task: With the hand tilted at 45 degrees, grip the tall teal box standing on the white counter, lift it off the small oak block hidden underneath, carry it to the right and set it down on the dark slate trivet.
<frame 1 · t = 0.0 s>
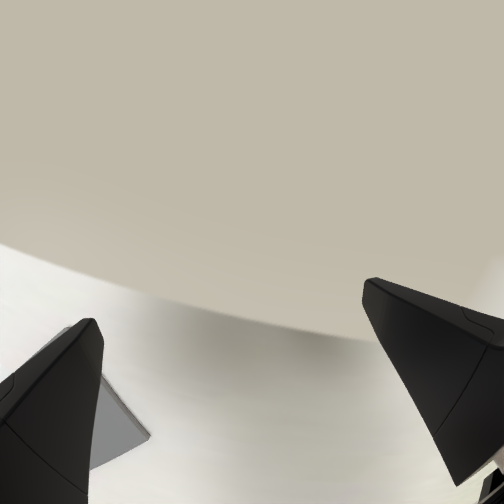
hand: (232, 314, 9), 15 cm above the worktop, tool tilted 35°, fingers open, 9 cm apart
trivet: (68, 410, 20), on the worktop
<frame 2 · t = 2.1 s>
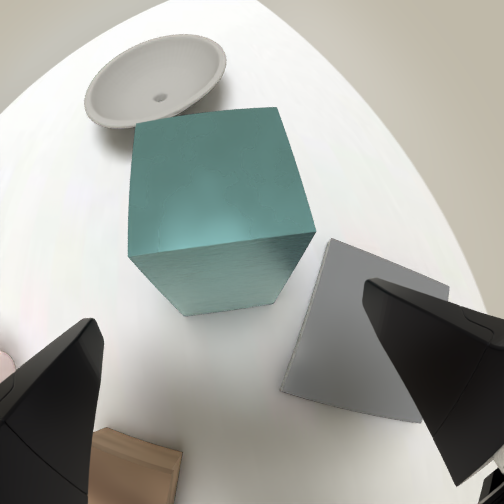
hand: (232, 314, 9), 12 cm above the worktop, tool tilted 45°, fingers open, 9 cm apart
smoothie: (5, 371, 17), on the worktop
dish: (162, 105, 29), on the worktop
walnut box: (137, 478, 15), on the worktop
tall teal box: (222, 267, 22), on the worktop
trivet: (376, 336, 21), on the worktop
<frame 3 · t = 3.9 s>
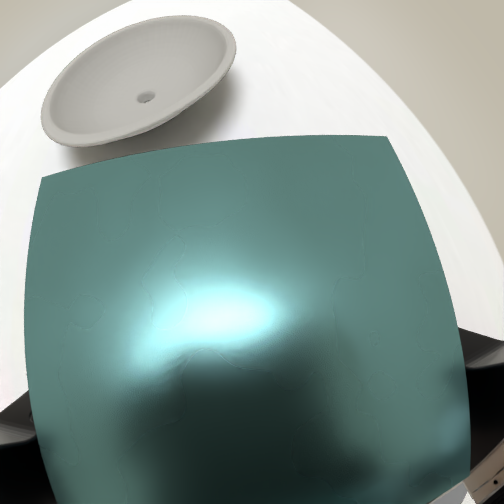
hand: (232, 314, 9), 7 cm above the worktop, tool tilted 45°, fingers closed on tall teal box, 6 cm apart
dish: (148, 107, 21), on the worktop
tall teal box: (237, 359, 15), on the worktop, touching gripper
trivet: (428, 427, 13), on the worktop
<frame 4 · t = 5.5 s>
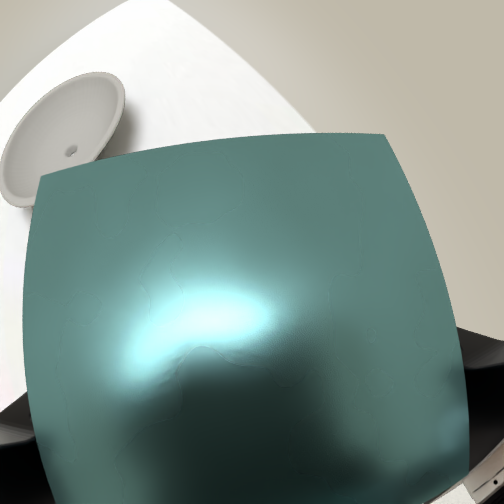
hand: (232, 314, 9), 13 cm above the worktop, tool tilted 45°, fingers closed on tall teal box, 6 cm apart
dish: (75, 157, 26), on the worktop
tall teal box: (236, 359, 15), point 6 cm above the worktop, touching gripper
when the fingers open (9 cm above the worktop, at t = 7.1 s): tall teal box drops 1 cm, resting on trivet.
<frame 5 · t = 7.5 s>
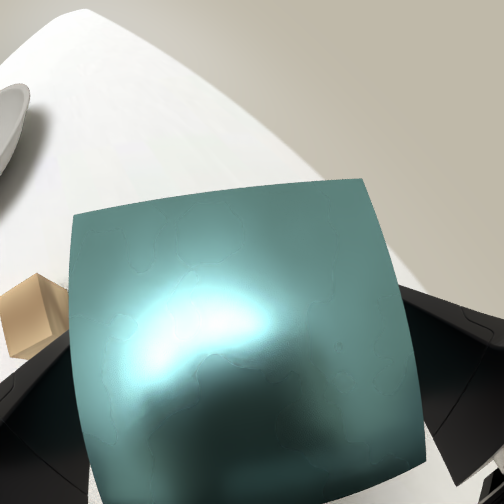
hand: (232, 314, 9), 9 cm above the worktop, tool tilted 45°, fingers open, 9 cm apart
block: (54, 326, 17), on the worktop
tall teal box: (237, 360, 16), point 1 cm above the worktop, touching trivet
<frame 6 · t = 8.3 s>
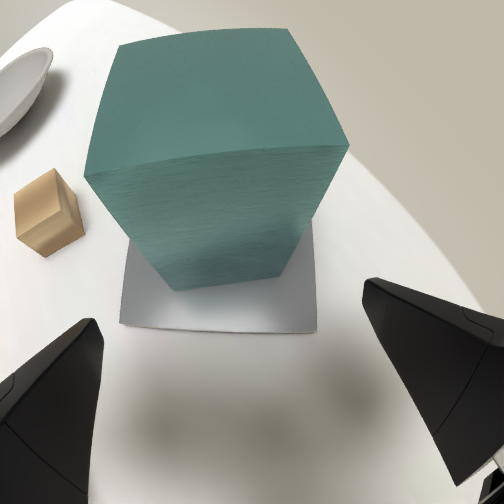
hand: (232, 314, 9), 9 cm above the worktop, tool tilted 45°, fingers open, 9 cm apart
block: (60, 225, 19), on the worktop
dish: (17, 117, 24), on the worktop
tall teal box: (220, 234, 19), point 1 cm above the worktop, touching trivet
trivet: (220, 240, 20), on the worktop
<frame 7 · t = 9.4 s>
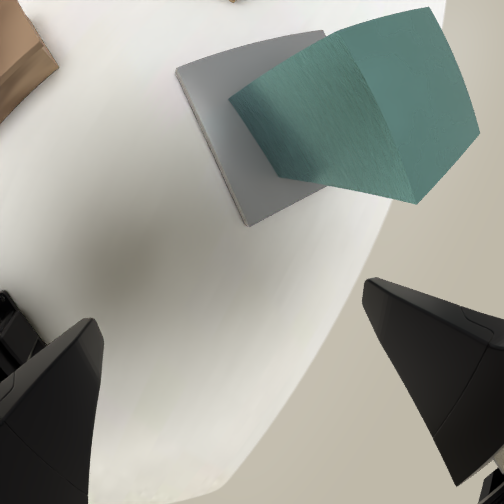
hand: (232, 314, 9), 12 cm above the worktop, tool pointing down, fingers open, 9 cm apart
walnut box: (6, 75, 12), on the worktop
tall teal box: (290, 115, 19), point 1 cm above the worktop, touching trivet
trivet: (284, 116, 20), on the worktop
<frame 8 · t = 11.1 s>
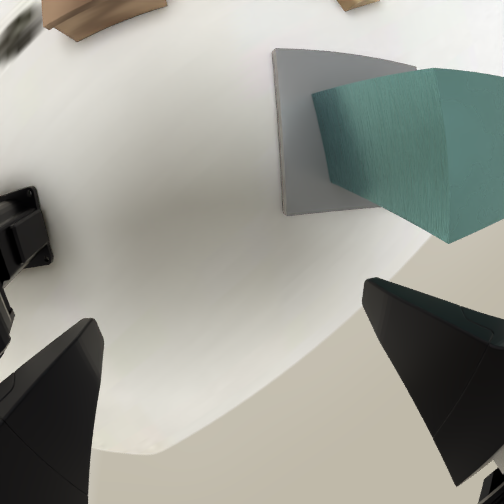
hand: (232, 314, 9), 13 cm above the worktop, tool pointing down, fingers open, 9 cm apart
tall teal box: (360, 131, 19), point 1 cm above the worktop, touching trivet
trivet: (354, 130, 20), on the worktop
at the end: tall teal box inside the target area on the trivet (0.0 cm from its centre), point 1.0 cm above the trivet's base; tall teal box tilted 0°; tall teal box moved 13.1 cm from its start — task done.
